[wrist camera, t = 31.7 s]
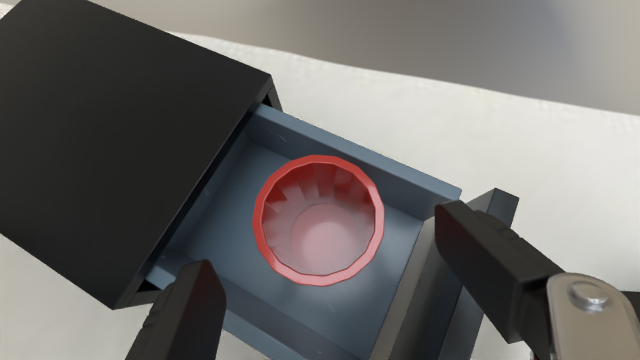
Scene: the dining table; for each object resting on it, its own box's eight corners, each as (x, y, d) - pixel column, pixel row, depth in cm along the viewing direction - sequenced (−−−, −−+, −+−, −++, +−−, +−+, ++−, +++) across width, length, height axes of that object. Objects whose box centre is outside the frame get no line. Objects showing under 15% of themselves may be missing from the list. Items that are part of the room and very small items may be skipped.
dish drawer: (543, 259, 19) (653, 252, 12) (489, 463, 15) (600, 602, 9) (255, 129, 23) (224, 73, 17) (167, 265, 20) (85, 263, 13)
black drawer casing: (293, 142, 23) (271, 74, 15) (203, 295, 20) (112, 310, 12) (130, 69, 27) (41, -19, 19) (28, 186, 23) (-135, 141, 15)
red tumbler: (343, 295, 18) (348, 314, 10) (271, 255, 19) (227, 244, 11) (377, 221, 19) (405, 187, 11) (309, 187, 20) (293, 136, 12)
